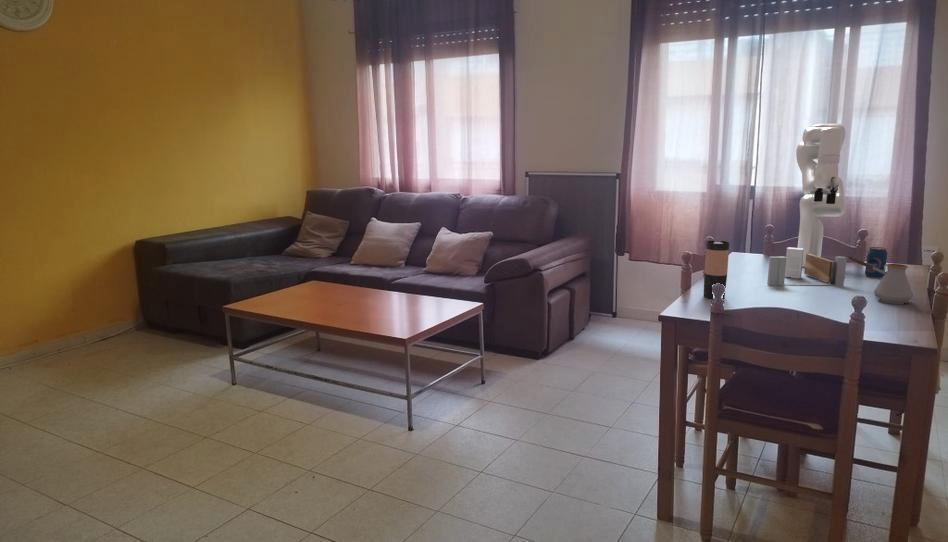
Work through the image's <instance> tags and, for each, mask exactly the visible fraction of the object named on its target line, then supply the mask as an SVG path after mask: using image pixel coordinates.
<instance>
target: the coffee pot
mask: <svg viewBox="0 0 948 542" xmlns="http://www.w3.org/2000/svg"><path fill="white" fill-rule="evenodd" d="M846 258H847V259H846V261H845V262H846V263H847V262H848V261H849V260H852V262H853V263H857V264H859V265H861V266H864V267H865V268H866V267H868V268H871V269H874V270H876V271H878V272H880V273H883V274H885V275H884V277H883V278H881V280H880V281H879V283H878V284H877V286H876V287H875V289H874V291H873V294H874V296H875V297H876V298H877V299H879V302H882V303H885V304H890V303H891V305H904V303H905V304H906V303H907V302H909V301H911V300H912V299H913V297H914V294H913V292H912V291H913V290H912V288H911V285H910V281H909V279H908V277H907V274H906V271H907V269H908V268H909V266H908V265H905V264H902V263H901V264H900V263H886V268H887V269H886V270H885V271H882V270H880V269H877V268H875V267H873V266H871V265H869V264H867V263H866V261H865V262H864V261H862V260H859V259H857V258H853V257H852V256H847V257H846Z"/></svg>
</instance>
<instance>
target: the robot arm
mask: <svg viewBox="0 0 948 542" xmlns="http://www.w3.org/2000/svg"><path fill="white" fill-rule="evenodd" d="M801 138H802V139H801V140H802V142H800V143H799V144H798V145H797V146H796V150H795V151H796V152H795V153H796V155H795V156H796V163H797V165H798V168H799V170H800V173H801V183H802V192H803V194H804V195H803V196H802V197H800V200H799V215H800V216H799V218H800V219H799V230H798V241H797V248H804V251H803V263H802V268H805V261H806V254H812V255H815V256H818V257H821V256H822V247H823V239H824V224H823V222H822V221H821V220H820V218H819V217H832V218H833V217H837V218H838V217H841V216H842V215H843V214H844V213H845V210H846V209H845V208H846V200H845V189H844V188H845V187H844V182H843V179H842V178H841V177H839V164H840V158H841V157H840V156H841V151H842V148H843V145H844V142H845V138H846V128H845V126H844V125H843V124H841V123H816V124H814V125H812V126H807V127H805V129H804V130H803V131H802V137H801ZM816 160H817V162H816Z"/></svg>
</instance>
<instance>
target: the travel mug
mask: <svg viewBox="0 0 948 542" xmlns="http://www.w3.org/2000/svg"><path fill="white" fill-rule="evenodd" d="M705 249H706V250H705V260H704V261H705V262H704V275H703V276H704V277H703V297H704V298H706V299H709V300H713V299H712V298H713V294H712V285H713V284H716V283H720V284H723V285H724V286H725V288H726V287H727V281H728V280H727V279H728V269H729V266H728V265H729V255H730V242H729V241H726V240H721V241H715V240H707V241H706V248H705ZM726 289H727V288H726ZM725 297H726V292H725V293H724V295H723V299H722V300H724V299H725Z"/></svg>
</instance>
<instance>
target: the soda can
mask: <svg viewBox="0 0 948 542" xmlns="http://www.w3.org/2000/svg"><path fill="white" fill-rule="evenodd" d="M887 258H888V251H887V248H885V247H880V246H869V249H868V250H867V253H866V259H865V260H866V261H865V263H867V264H869V265H871V266H873V267H875V268H877V269H880V270H882V271H885V272H886V270H887V269H886V268H887V266H886V264H887V261H888V260H887ZM864 269H865V270H864V274H865V277H867V278H869V277H870V279H882V278H883V277H884V275H885V274H883V273H880V272H878V271H876V270H874V269H871V268H868V267H866V266H865V268H864Z"/></svg>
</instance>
